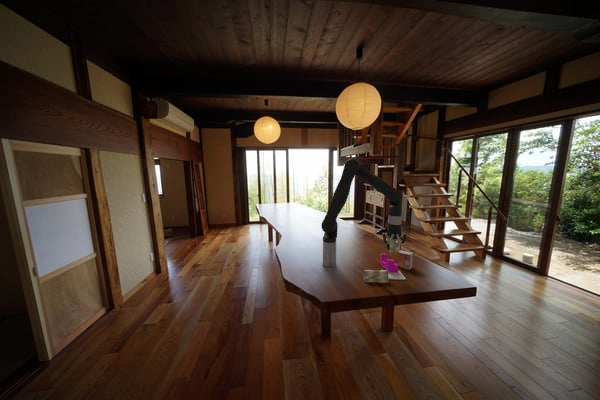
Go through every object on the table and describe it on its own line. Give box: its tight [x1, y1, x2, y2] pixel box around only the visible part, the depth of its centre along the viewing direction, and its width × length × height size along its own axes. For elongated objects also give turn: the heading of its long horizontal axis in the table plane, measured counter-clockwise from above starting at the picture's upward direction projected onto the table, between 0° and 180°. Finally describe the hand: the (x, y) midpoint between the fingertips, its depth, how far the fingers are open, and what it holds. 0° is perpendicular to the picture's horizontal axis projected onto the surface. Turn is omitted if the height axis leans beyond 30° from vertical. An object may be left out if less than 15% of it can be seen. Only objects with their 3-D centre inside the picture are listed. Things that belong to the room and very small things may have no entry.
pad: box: [379, 269, 407, 281], centre depth 130 cm, size 12×11×1 cm
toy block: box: [379, 252, 399, 272], centre depth 139 cm, size 15×6×8 cm, turn 176°
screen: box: [363, 269, 390, 284], centre depth 123 cm, size 14×3×6 cm, turn 83°
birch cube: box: [388, 240, 401, 254], centre depth 128 cm, size 6×6×6 cm
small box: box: [396, 249, 414, 271], centre depth 141 cm, size 8×6×10 cm
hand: (393, 249), depth 128 cm, fingers closed on birch cube, 5 cm apart
